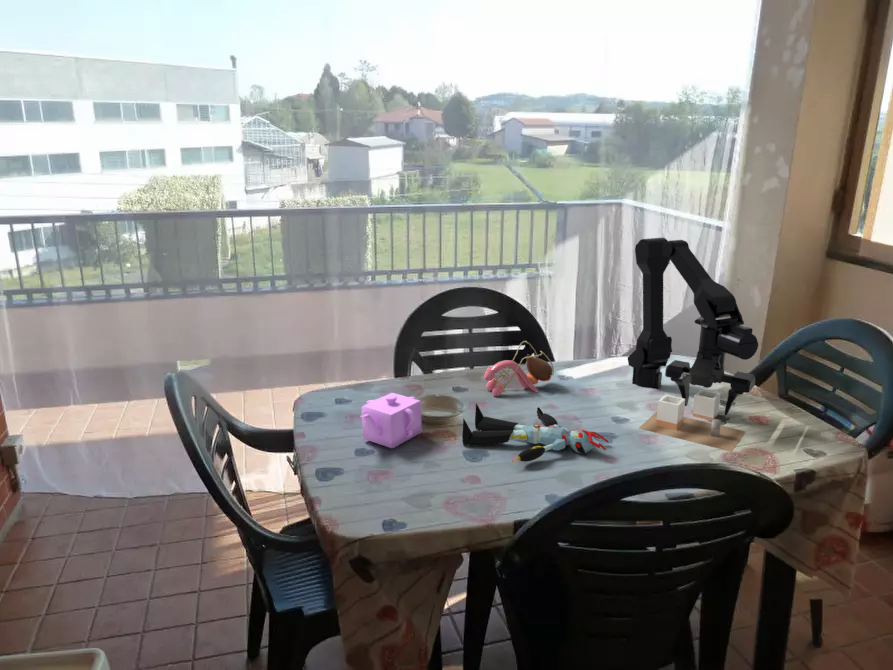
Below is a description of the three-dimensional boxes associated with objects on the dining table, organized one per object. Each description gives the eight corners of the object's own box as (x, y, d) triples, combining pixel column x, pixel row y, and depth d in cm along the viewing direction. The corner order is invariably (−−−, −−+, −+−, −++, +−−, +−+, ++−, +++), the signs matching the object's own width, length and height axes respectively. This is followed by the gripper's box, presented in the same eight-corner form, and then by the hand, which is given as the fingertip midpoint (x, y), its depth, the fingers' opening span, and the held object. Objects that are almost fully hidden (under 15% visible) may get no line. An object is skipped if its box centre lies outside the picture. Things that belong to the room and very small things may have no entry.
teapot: (384, 463, 138) (382, 418, 135) (337, 445, 146) (334, 403, 143) (437, 433, 152) (437, 391, 149) (392, 418, 160) (390, 379, 157)
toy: (487, 389, 161) (615, 398, 150) (488, 419, 163) (615, 430, 152) (450, 432, 137) (599, 446, 127) (452, 466, 140) (599, 483, 129)
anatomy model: (469, 375, 177) (508, 326, 177) (508, 405, 184) (546, 357, 183) (485, 389, 167) (526, 337, 167) (525, 420, 173) (565, 370, 173)
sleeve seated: (656, 425, 151) (658, 400, 149) (663, 418, 155) (665, 394, 153) (676, 430, 148) (678, 405, 147) (683, 423, 152) (685, 398, 150)
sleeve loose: (692, 419, 156) (694, 395, 154) (698, 412, 160) (700, 389, 158) (712, 423, 153) (714, 399, 152) (717, 417, 157) (720, 393, 155)
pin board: (638, 433, 150) (639, 413, 149) (657, 415, 159) (658, 397, 158) (730, 456, 139) (733, 436, 137) (745, 436, 148) (747, 416, 146)
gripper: (659, 348, 151) (654, 412, 155) (746, 363, 140) (738, 431, 144) (676, 336, 159) (670, 397, 164) (759, 350, 148) (751, 414, 153)
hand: (705, 410), depth 156 cm, fingers open, 9 cm apart
